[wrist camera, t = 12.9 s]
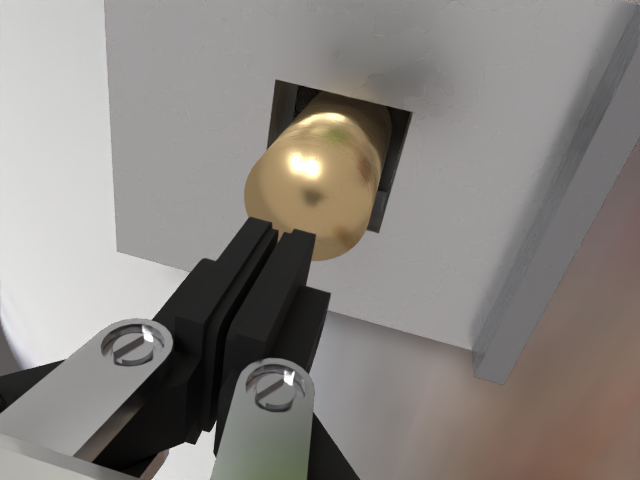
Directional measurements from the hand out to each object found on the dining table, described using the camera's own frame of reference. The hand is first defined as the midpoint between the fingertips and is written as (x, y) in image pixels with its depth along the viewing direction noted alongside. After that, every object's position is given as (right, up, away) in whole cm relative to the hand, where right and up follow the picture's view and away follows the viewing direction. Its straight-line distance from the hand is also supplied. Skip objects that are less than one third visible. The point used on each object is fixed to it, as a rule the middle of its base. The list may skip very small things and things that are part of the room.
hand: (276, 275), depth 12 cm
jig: (+2, +6, +10) cm, 12 cm away
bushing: (+2, +6, +10) cm, 12 cm away
